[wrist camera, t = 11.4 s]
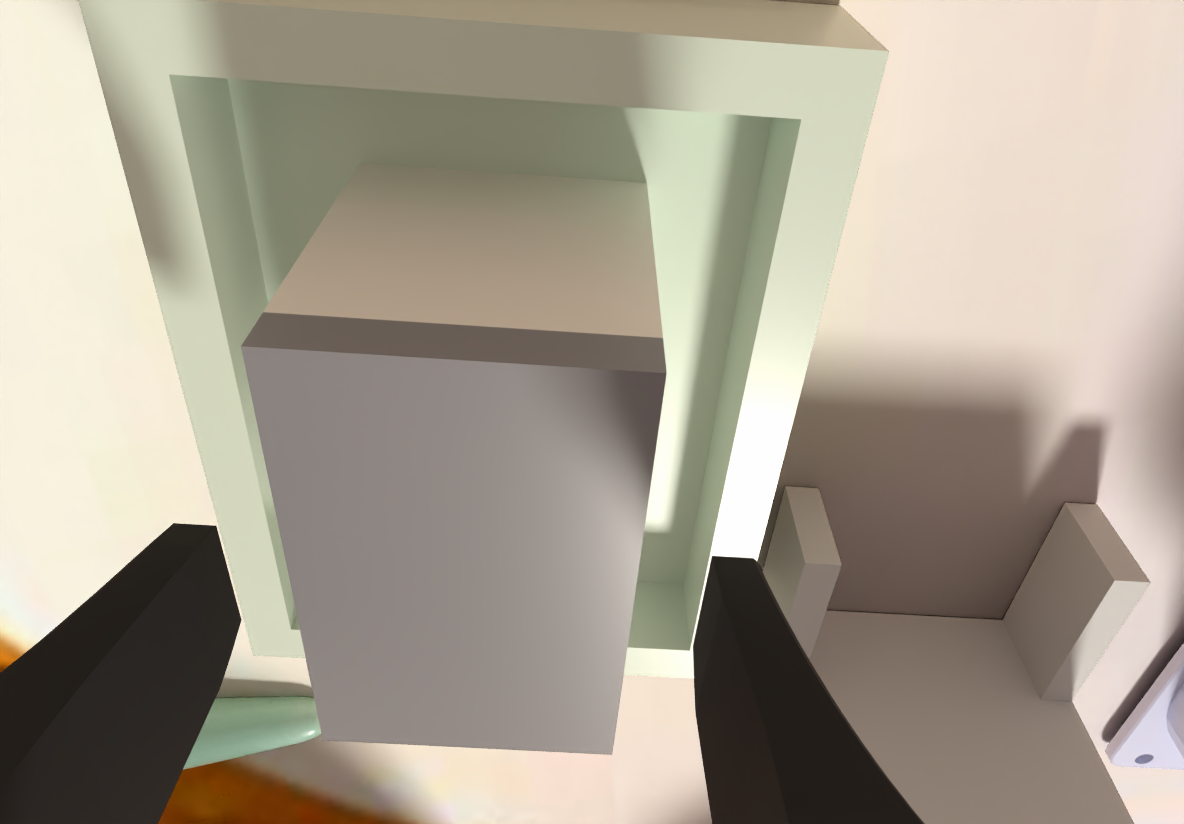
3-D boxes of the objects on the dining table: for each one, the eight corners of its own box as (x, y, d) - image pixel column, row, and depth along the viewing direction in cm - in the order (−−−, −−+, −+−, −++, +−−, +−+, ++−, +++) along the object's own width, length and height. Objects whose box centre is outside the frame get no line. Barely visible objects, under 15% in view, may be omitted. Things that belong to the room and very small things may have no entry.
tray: (840, 5, 14) (888, 51, 12) (713, 583, 22) (726, 680, 20) (169, -45, 14) (76, -9, 11) (291, 560, 22) (253, 655, 20)
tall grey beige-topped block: (646, 182, 15) (667, 373, 10) (610, 516, 20) (612, 755, 15) (359, 163, 15) (241, 346, 10) (392, 503, 20) (322, 739, 15)
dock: (1096, 504, 21) (1321, 831, 14) (1017, 645, 24) (1171, 965, 17) (785, 486, 20) (868, 810, 14) (747, 630, 24) (800, 949, 17)
